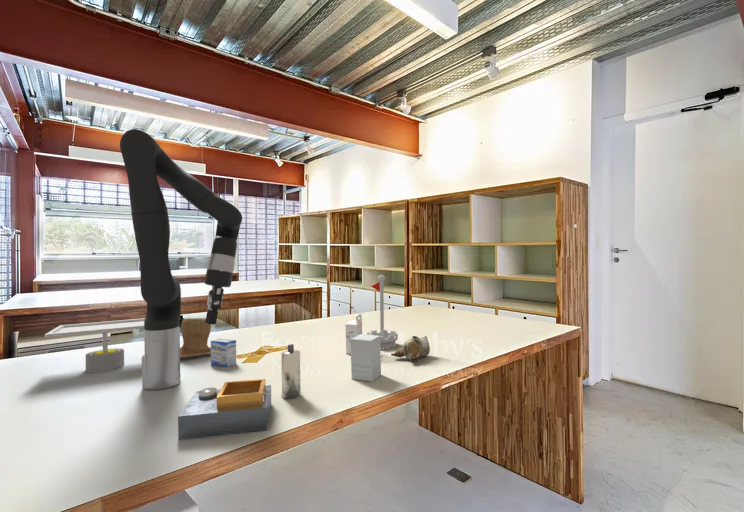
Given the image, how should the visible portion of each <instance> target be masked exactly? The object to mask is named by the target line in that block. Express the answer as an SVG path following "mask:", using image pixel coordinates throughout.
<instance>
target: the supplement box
mask: <svg viewBox="0 0 744 512" xmlns="http://www.w3.org/2000/svg"><path fill="white" fill-rule="evenodd" d="M381 350H382V349H380V336H376V335H367V334H363V333H362V334H360V335H358V336H356V337H354V338H352V339H351V354H350V363H351V364H350V367H351V370H350V372H351V379H352V380H357V381H364V382H374V381H375V380H377V379H378V378H379V377H380V376H381V374H382V357H381V352H382V351H381Z"/></svg>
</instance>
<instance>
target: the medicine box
mask: <svg viewBox="0 0 744 512" xmlns="http://www.w3.org/2000/svg"><path fill="white" fill-rule="evenodd" d="M210 348H211V354H210V366H216V367H217V366H218V367H223V368H224V367H225V368H229V367H231V366H234V365H236V364H237V340H236V339H235V340H234V339H229V338H227V339H226V338H215V339H211V341H210Z"/></svg>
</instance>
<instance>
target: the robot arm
mask: <svg viewBox="0 0 744 512" xmlns="http://www.w3.org/2000/svg"><path fill="white" fill-rule="evenodd" d="M119 148H120V153H121V155H122V160H123V164H124V167H125V172H126V177H127V181H128V194H129V203H130V211H131V212H130V213H131V221H132V226H133V227H132V228H133V231H134V232H133V233H134V238H135V243H136V244H135V245H136V248H137V253H138V257H139V265H140V266H139V268H140V294H141V297H142V299H143V300H144V302H145V303H146V313H145V314H146V315H145V321H144V328H143V329H144V330H143V333H144V334H143V337H144V345H143V346H144V355H142V356H141V387H142V388H141V389H142V390H151V391H155V390H164V389H169V388H172V387H175V386H177V385H179V384H180V383H181V359H180V348H181V345H180V344H181V336H180V335H181V333H180V332H181V323H180V320H181V312H182V305H181V304H182V288H181V283H180V282H179V280H178V279H177V278H176V276H175V277H174V276H173V275H172V271H171V265H170V260H169V258H170V257H169V248H170V241H171V239H170V238H171V225H170V218H169V211H168V207H167V203H166V201H165V198H164V194H163V192H162V190H161V187H160V184H159V181H158V177H159V178H160V179H161V180H163V181H165V182H166V183H167V184H168V185H169V186H171V187H172V188H173V189H174V190H175V191H176V193H178V194H179V195H180V196H181V197H183V198H184V200H186V201H188V203H190V205H192V206H194V207H195V208H196V209H198V210H199V211H200V212H202V213H204V214H208V215H209V216H210V217H211V218H213V219H214V220H216V221H217V223H216V231H215V235H214V237H215V238H214V239H213V242H212V246H211V251H210V252H211V253H210V255H209V256H210V257H209V258H208V263H207V266H206V267H207V268H206V272H205V273H206V274H205V278H204V285H207V286H211V289H210V290H209V291H208V294H207V297H208V298H207V301H206V305H207V306H206V317H205V318H206V321H205V322H206V323H208V324H211V325H214V326H215V325H216V324H217V321H218V315H219V311H220V310H221V308H222V307H221V306H222V303H223V298H224V295H225V293H224V292H225V290H224V288H230V287H232V282H233V275H234V270H235V265H236V264H235V259H236V255H237V248H238V242H237V241H238V238H239V232H240V228H241V226H242V225H241V224H242V222H243V214H242V213H241V211H240V210H239V208H237V207H236V206H235V205H233V204H232V203H230V202H229V201H228V200H226V199H224V198H222V197H220V196H219V195H218V194H216V192H215V191H213V190H212V189H210V188H209V187H208V186H207V185H205V184H204V183H203V182H202V181H200V180H199V179H198V178H196V177H194V176H193V175H191V174H190V173H189V172H187V171H186V170H184V169H183V168H181V167H180V166H179V165H178V164H177V163H175V161H174V160H173V159H171V157H169V156H168V155H167V153H166V152H165V151H164V150H163V149H162V148H161V146H160V144H159V143H158V142H157V140H156V139H155V138H154V137H153V136H152V135H151V134H149V133H148V132H146V131H144V130H142V129H138V128H131V129H129V130H127V131H125V132H124V133H123V134H122V136H121V138H120V141H119Z"/></svg>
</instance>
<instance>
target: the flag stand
mask: <svg viewBox="0 0 744 512" xmlns="http://www.w3.org/2000/svg"><path fill="white" fill-rule="evenodd" d="M377 280H378V282H376V283H375V284H373V285H371V287H372V288H373V289H375V290H376V291H378V292H379V320H380V321H379V323H380V324H379V325H380V326H379V327H380V328H379V331H380V332H378V330H376V329H375V330H371V331H368V332H366V335H376V336H380V348H390V349H392V348H391V347H393V348H395V347H396V342H397V341H398V336H399V335H398V332H397V331H395V330H390V332H388V329H385V326H384V325H385V322H384V321H385V320H384V319H385V317H384V316H385V312H384V311H385V307H384V305H385V304H384V281H385V280H386V277H385V275H383V274H380V275H378V277H377ZM394 346H395V347H394Z"/></svg>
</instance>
